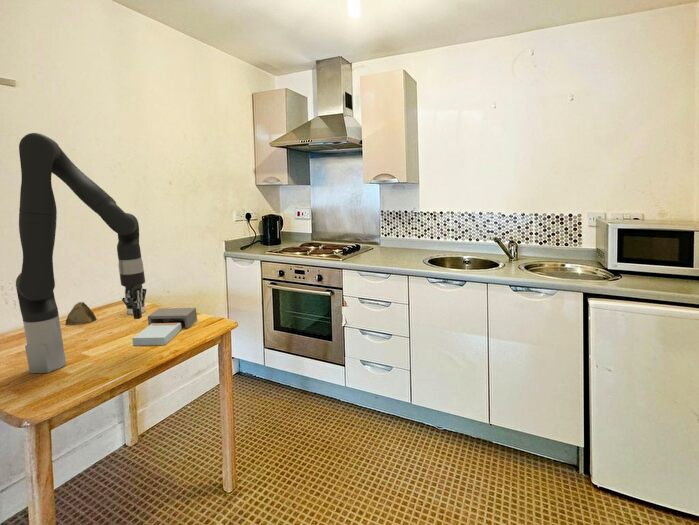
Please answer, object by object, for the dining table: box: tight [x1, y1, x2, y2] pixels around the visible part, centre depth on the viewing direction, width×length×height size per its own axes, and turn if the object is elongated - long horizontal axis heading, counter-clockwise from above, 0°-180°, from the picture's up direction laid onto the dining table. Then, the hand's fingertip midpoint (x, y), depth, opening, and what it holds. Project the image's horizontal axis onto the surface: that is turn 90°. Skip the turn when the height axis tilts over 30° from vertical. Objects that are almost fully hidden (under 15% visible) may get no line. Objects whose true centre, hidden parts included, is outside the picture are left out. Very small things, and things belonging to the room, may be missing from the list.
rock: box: [65, 301, 98, 325], centre depth 174 cm, size 11×9×10 cm
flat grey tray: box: [131, 322, 182, 347], centre depth 156 cm, size 16×12×3 cm
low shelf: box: [147, 307, 198, 329], centre depth 170 cm, size 11×16×6 cm, turn 92°
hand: (138, 318), depth 140 cm, fingers closed
